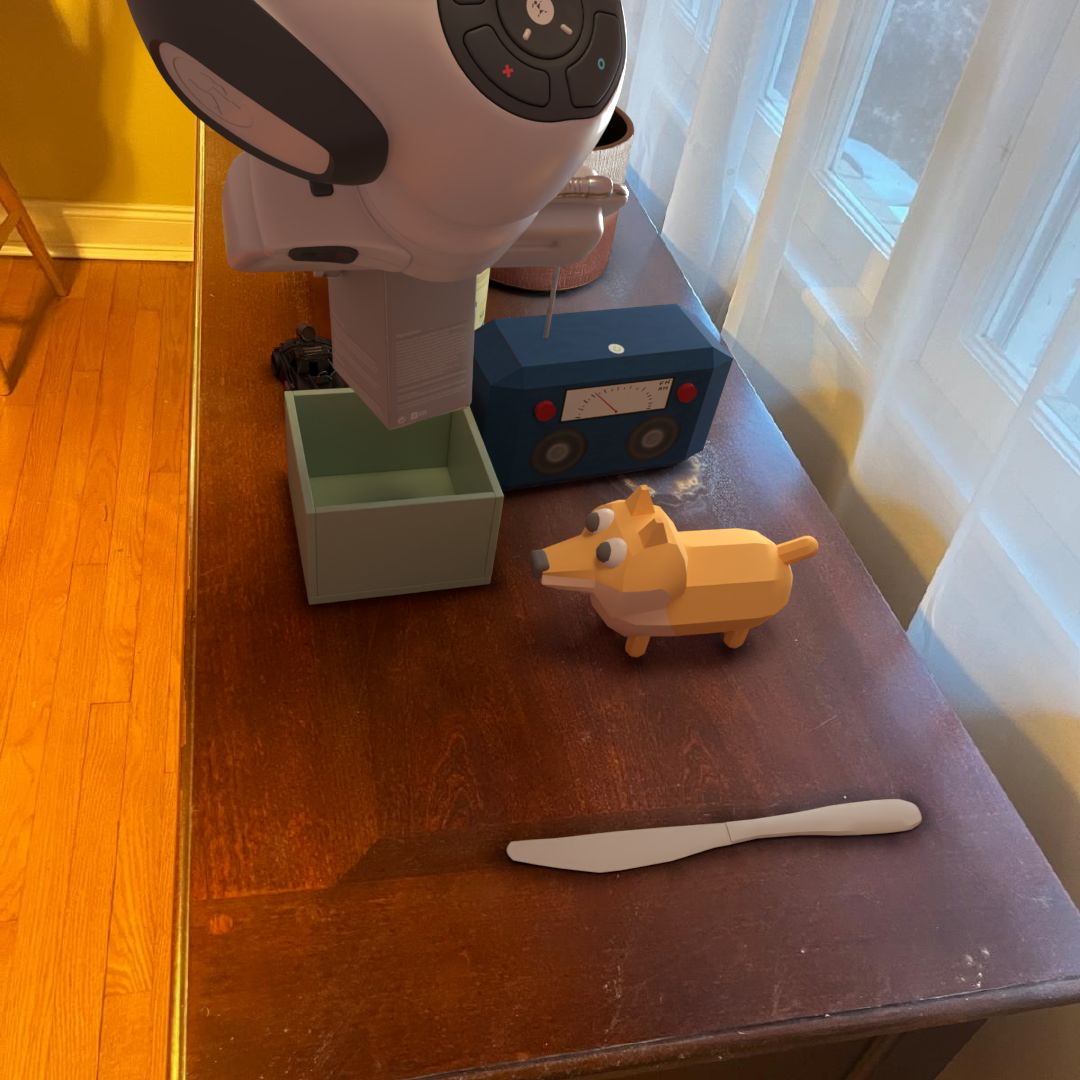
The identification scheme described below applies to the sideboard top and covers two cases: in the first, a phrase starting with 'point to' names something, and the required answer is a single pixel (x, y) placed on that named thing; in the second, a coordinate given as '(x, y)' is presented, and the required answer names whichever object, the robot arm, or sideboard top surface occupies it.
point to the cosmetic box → (404, 342)
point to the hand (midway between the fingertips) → (396, 263)
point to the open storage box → (388, 499)
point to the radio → (594, 391)
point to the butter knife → (710, 836)
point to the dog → (671, 573)
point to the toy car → (306, 362)
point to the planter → (610, 163)
